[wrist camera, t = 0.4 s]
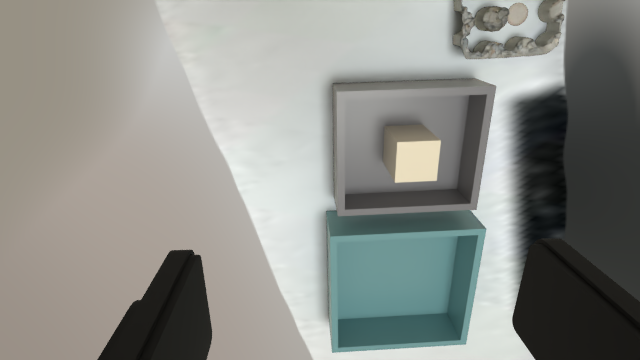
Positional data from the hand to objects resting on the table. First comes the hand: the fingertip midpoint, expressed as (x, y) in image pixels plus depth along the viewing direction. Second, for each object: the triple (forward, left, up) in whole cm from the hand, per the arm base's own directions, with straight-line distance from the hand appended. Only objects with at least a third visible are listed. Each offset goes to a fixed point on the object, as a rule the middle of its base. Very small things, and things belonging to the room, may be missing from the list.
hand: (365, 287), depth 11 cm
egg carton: (-6, +20, -34) cm, 40 cm away
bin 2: (+25, +10, -34) cm, 43 cm away
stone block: (+7, +10, -33) cm, 35 cm away
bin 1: (+7, +10, -34) cm, 36 cm away
